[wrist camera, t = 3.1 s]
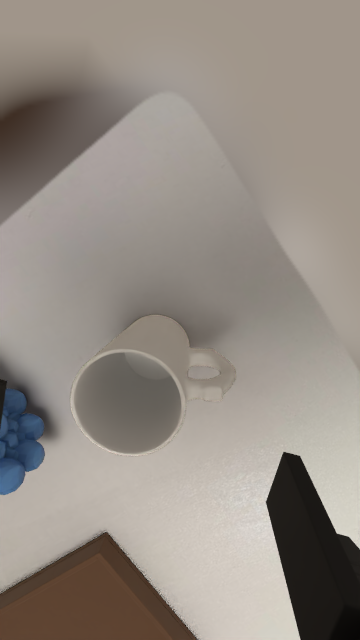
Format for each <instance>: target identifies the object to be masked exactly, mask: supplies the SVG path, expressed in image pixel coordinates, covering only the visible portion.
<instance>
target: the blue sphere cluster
mask: <svg viewBox="0 0 360 640" xmlns="http://www.w3.org/2000/svg"><path fill="white" fill-rule="evenodd" d="M26 406H27V400H26V397H25V395H24V394H23V393H22V392H20V391H18V390H15V389H9V388H8V389H6V392H5V399H4V406H3V414H2V421H1V429H0V494H1V495H6V494H8V493H11V492H13V491H15V490H17V488H18V487H19V486H20V485H21V484H22V483H23V481H24V477H25V471H26V472H29V471H31V470H34V469H36V468H38V467H39V465H40V464H41V463H42V462H43V460H44V456H45V452H44V448H43V446H42V445H41V444H40V443H39V442H37V441H36V440H38V439H39V438H40V437H41V436H42V435H43V431H44V422H43V420H42V419H41V418H40V417H39V416H37V415H35V414H29V413H25V414H22V413H23V412H24V411H25V409H26Z"/></svg>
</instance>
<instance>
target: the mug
mask: <svg viewBox="0 0 360 640" xmlns="http://www.w3.org/2000/svg"><path fill="white" fill-rule="evenodd" d="M193 366H207V367H212V368H215V369H217V370H218V371H219V372H220V375H218V376H216V377H214V378H210V379H193V378H190V377H188V370H189V368H190V367H193ZM235 378H236V371H235V368H234V366H233V365H232V364H231V362H230V361H228V360H227V359H226V358H225V357H223V356H222V355H221V354H219V353H218V352H216V351H215V350H214V349H194V348H190V345H189V340H188V337H187V334H186V332H185V331H184V329H183V328H182V327H181V325H180V324H178V323H177V322H176V321H175V320H173V319H171V318H169V317H166V316H163V315H148V316H144V317H142V318H140V319H138V320H136V321H135V322H134V323H133V324H131V325H130V326H129V327H128V328H126V329H125V330H124V331H123V332H122V333H121V334H119V335H118V336H117V337H116V338H115V339H114V340H112V341H111V342H110V343H109V344H108V345H106V346H105V347H104V348H103V349H102V350H100V351H99V352H98V353H97V354H96V355H95V356H94V357H93V358H92V359H90V360H89V361H88V362H87V363H86V364H85V365H84V366H83V367H82V368H81V369H80V371H79V372H78V374H77V375H76V377H75V379H74V382H73V385H72V388H71V394H70V405H71V411H72V414H73V417H74V419H75V422H76V423H77V425H78V427H79V429H80V430H81V431H82V433H83V434H84V435H85V436H86V437H87V438H88V439H89V440H90V441H91V442H92V443H94V444H95V445H97V446H98V447H100V448H102V449H103V450H106V451H108V452H110V453H114V454H117V455H122V456H141V455H146V454H150V453H153V452H155V451H157V450H159V449H161V448H163V447H164V446H165V445H167V444H168V443H169V442H170V441H171V440H172V439H173V438H174V437H175V436H176V434H177V433H178V431H179V430H180V428H181V426H182V423H183V421H184V417H185V412H186V404H187V402H188V401H190V400H192V399H203V400H205V401H216V402H220V401H222V399H223V395H224V394H225V393H226V392H227V391H228V390H229V389H230V387H231V386H232V385H233V383H234V381H235Z"/></svg>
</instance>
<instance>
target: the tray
mask: <svg viewBox="0 0 360 640" xmlns="http://www.w3.org/2000/svg"><path fill="white" fill-rule="evenodd" d="M0 640H197V639H196V638H195V637H194V636H193V634H192V633H191V632H190V631H189V630H188V628H187V627H186V626H185V625H184V624H183V623H182V621H181V620H180V619H179V618H178V617H177V615H176V614H175V613H174V612H173V611H172V609H171V608H170V607H169V606H168V605H167V604H166V602H165V601H164V600H163V599H162V598H161V596H160V595H159V594H158V593H157V592H156V590H155V589H154V588H153V587H152V586H151V585H150V583H149V582H148V581H147V580H146V579H145V577H144V576H143V575H142V574H141V573H140V572H139V570H138V569H137V568H136V567H135V566H134V564H133V563H132V562H131V561H130V560H129V558H128V557H127V556H126V555H125V554H124V553H123V551H122V550H121V549H120V548H119V547H118V545H117V544H116V543H115V542H114V541H113V539H112V538H111V537H110V536H109V535H108V534H107V532H106V533H104V534H103V535H101V536H99V537H98V538H96V539H94V540H92V541H91V542H89V543H87V544H86V545H84V546H82V547H80V548H79V549H77V550H75V551H74V552H72V553H70V554H68V555H67V556H65V557H63V558H62V559H60V560H58V561H56V562H55V563H53V564H51V565H50V566H48V567H46V568H44V569H43V570H41V571H39V572H38V573H36V574H34V575H32V576H31V577H29V578H27V579H26V580H24V581H22V582H20V583H19V584H17V585H15V586H14V587H12V588H10V589H8V590H7V591H5V592H3V593H2V594H0Z"/></svg>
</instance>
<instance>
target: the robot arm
mask: <svg viewBox="0 0 360 640" xmlns="http://www.w3.org/2000/svg"><path fill="white" fill-rule="evenodd" d="M6 384H7V381H5V380H1V379H0V429H1V421H2V414H3V406H4V399H5V392H6ZM266 504H267V508H268V512H269V516H270V520H271V524H272V528H273V532H274V536H275V540H276V544H277V548H278V552H279V556H280V560H281V564H282V568H283V572H284V575H285V579H286V583H287V587H288V591H289V595H290V599H291V603H292V607H293V611H294V615H295V619H296V623H297V627H298V631H299V635H300V639H301V640H360V549H359V548H358V547H357V546H356V545H355V543H354V542H353V541H352V540H351V539H350V538H349V537H347V536H344V535H340V534H337V533H336V531H335V529H334V527H333V525H332V523H331V521H330V518H329V516H328V514H327V512H326V510H325V508H324V506H323V504H322V502H321V499H320V497H319V495H318V493H317V491H316V489H315V487H314V485H313V483H312V480H311V478H310V476H309V474H308V472H307V470H306V468H305V466H304V464H303V461H302V459H301V457H300V456H298V455H294V454H290V453H286V452H283V455H282V458H281V461H280V463H279V466H278V469H277V472H276V475H275V478H274V481H273V483H272V486H271V489H270V492H269V495H268V498H267V501H266Z"/></svg>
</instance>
